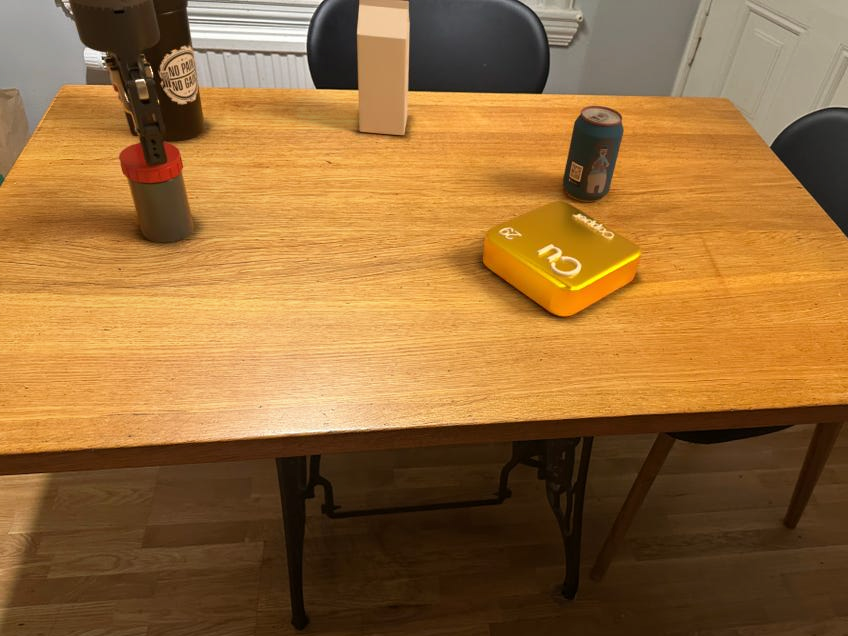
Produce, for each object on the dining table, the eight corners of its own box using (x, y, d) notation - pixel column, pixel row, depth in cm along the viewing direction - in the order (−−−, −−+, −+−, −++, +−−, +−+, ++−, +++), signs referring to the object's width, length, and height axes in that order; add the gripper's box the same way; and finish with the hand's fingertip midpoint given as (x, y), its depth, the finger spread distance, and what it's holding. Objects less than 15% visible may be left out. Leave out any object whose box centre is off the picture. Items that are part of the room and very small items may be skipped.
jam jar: (135, 241, 84) (114, 168, 78) (151, 214, 89) (132, 144, 82) (186, 244, 85) (169, 173, 78) (199, 218, 89) (185, 148, 83)
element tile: (640, 277, 89) (650, 246, 86) (562, 323, 81) (569, 290, 77) (554, 224, 96) (560, 193, 93) (475, 260, 88) (478, 228, 85)
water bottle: (173, 150, 101) (134, -24, 85) (123, 129, 104) (77, -43, 88) (225, 127, 108) (198, -39, 92) (177, 107, 111) (143, -56, 95)
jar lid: (114, 181, 79) (110, 165, 77) (134, 154, 83) (130, 139, 82) (173, 185, 79) (170, 170, 78) (189, 158, 84) (186, 143, 82)
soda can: (581, 176, 107) (597, 99, 99) (616, 195, 104) (636, 117, 96) (551, 189, 103) (566, 110, 95) (587, 209, 100) (606, 130, 92)
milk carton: (404, 136, 111) (406, 9, 98) (359, 132, 110) (356, 4, 98) (407, 117, 116) (410, -6, 103) (364, 113, 116) (362, -11, 103)
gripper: (55, -28, 71) (101, 127, 82) (79, 19, 62) (127, 184, 74) (133, -32, 74) (167, 118, 85) (167, 12, 65) (200, 171, 77)
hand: (149, 148), depth 79 cm, fingers open, 7 cm apart
